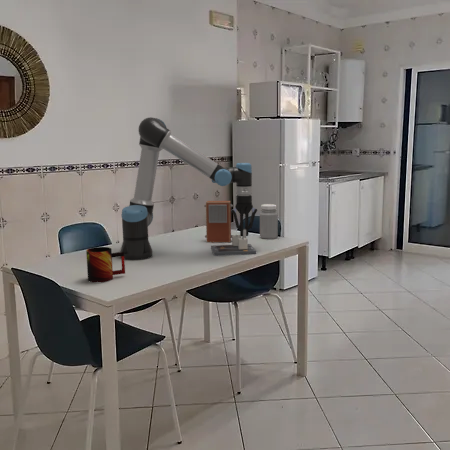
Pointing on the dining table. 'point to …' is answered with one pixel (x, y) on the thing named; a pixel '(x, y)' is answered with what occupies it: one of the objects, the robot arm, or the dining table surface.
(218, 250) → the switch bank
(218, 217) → the orange rectangular box
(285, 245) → the dining table surface
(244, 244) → the tab front
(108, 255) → the mug
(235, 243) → the tab back
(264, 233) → the jar
